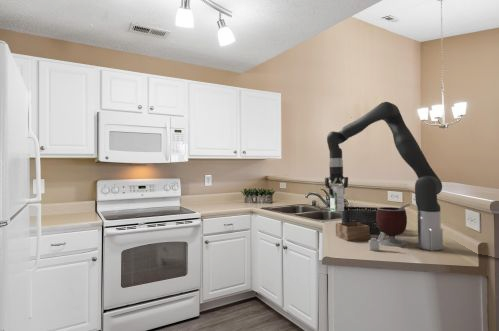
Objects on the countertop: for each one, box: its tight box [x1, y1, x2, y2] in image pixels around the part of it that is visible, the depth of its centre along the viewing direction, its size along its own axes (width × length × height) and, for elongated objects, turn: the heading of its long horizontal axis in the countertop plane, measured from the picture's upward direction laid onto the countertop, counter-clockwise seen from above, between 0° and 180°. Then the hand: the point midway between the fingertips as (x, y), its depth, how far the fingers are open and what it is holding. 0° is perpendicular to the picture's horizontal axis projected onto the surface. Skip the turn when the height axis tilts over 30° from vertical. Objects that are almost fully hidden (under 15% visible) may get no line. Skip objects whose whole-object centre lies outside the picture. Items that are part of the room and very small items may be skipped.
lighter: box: [368, 232, 386, 251], centre depth 141 cm, size 7×2×8 cm, turn 92°
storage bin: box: [341, 205, 381, 235], centre depth 186 cm, size 29×19×13 cm
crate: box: [335, 222, 371, 242], centre depth 166 cm, size 13×13×7 cm
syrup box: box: [329, 185, 345, 213], centre depth 179 cm, size 6×6×14 cm
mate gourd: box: [376, 203, 411, 247], centre depth 153 cm, size 16×14×20 cm
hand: (336, 195), depth 179 cm, fingers closed on syrup box, 6 cm apart
